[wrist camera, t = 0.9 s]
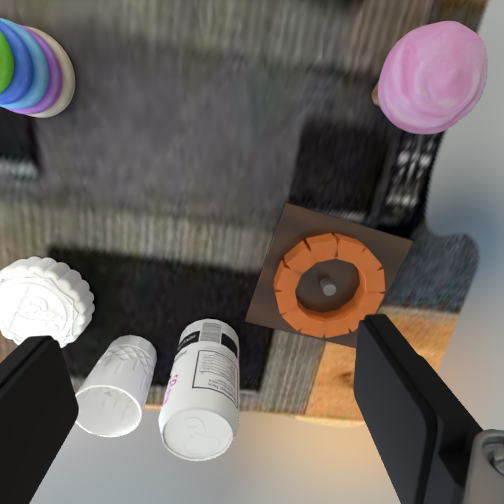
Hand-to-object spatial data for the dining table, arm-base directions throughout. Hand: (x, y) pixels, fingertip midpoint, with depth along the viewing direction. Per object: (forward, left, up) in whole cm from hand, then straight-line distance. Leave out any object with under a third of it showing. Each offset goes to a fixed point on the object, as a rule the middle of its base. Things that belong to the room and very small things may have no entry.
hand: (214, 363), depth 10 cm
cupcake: (-15, +14, -30) cm, 36 cm away
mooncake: (+21, -19, -30) cm, 41 cm away
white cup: (+27, -7, -30) cm, 41 cm away
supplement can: (+21, +3, -30) cm, 37 cm away
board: (+8, +15, -30) cm, 34 cm away
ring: (+8, +15, -28) cm, 33 cm away
